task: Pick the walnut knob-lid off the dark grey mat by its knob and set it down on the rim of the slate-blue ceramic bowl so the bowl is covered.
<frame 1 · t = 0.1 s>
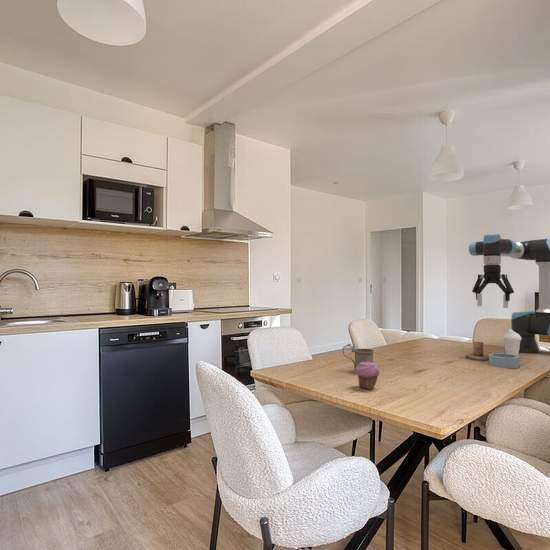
hand: (492, 307, 195), 28 cm above the table, fingers open, 13 cm apart
cupcake: (367, 388, 148), on the table
lid: (478, 358, 203), resting on mat
soft serve ice cream cone: (512, 359, 204), on the table
bowl: (504, 365, 187), on the table
mat: (478, 359, 203), on the table
mug: (358, 371, 175), on the table
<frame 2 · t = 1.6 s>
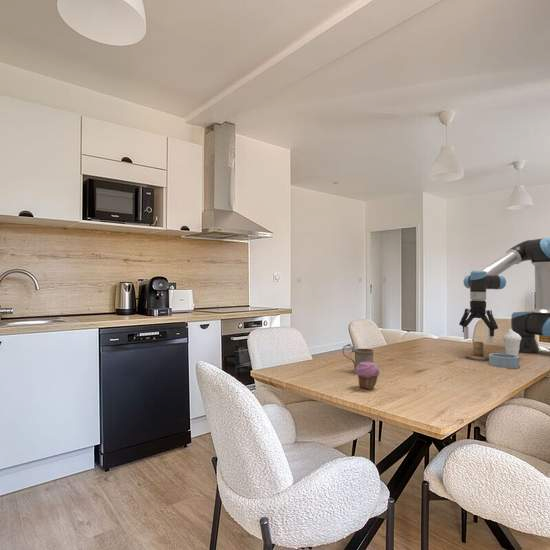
hand: (477, 340, 203), 10 cm above the table, fingers open, 13 cm apart
nothing on the table moved.
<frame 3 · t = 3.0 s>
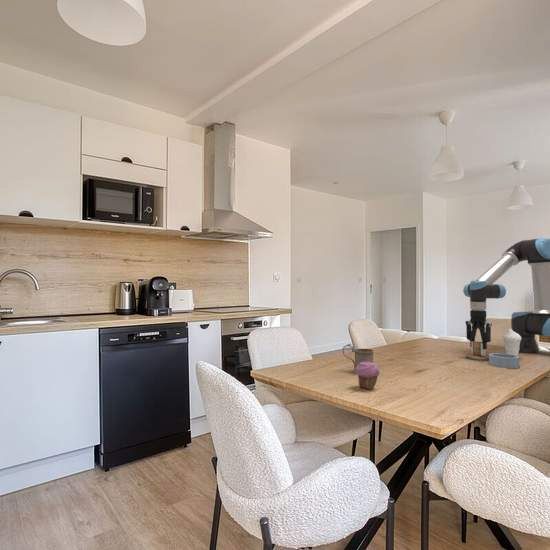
hand: (478, 354, 203), 2 cm above the table, fingers closed on lid, 5 cm apart
lid: (478, 358, 203), resting on mat, touching gripper
everything else where it was.
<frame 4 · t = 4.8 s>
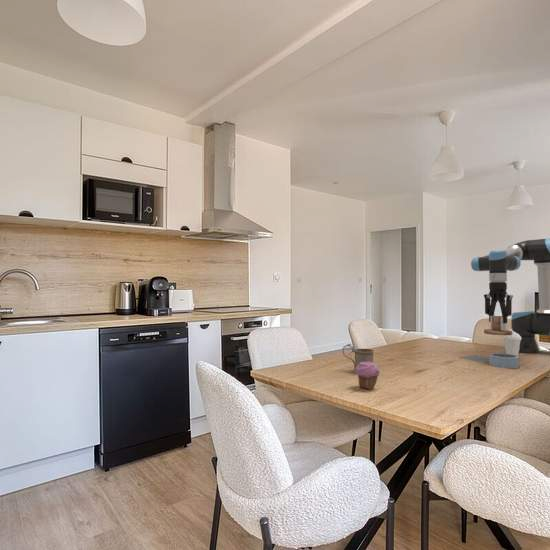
hand: (498, 329, 190), 17 cm above the table, fingers closed on lid, 5 cm apart
lid: (497, 333, 190), point 15 cm above the table, touching gripper
everything else where it was.
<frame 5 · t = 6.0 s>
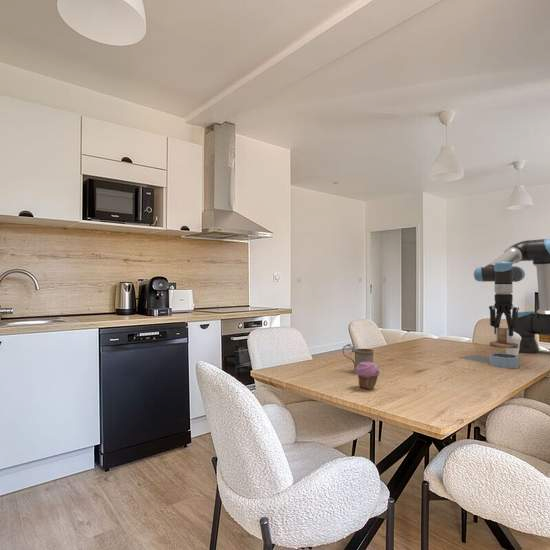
hand: (503, 341, 187), 12 cm above the table, fingers closed on lid, 5 cm apart
lid: (503, 346, 187), point 9 cm above the table, touching gripper
everything else where it was.
when the fingers open (8 cm above the table, at t = 6.9 s): lid stays where it is, resting on bowl.
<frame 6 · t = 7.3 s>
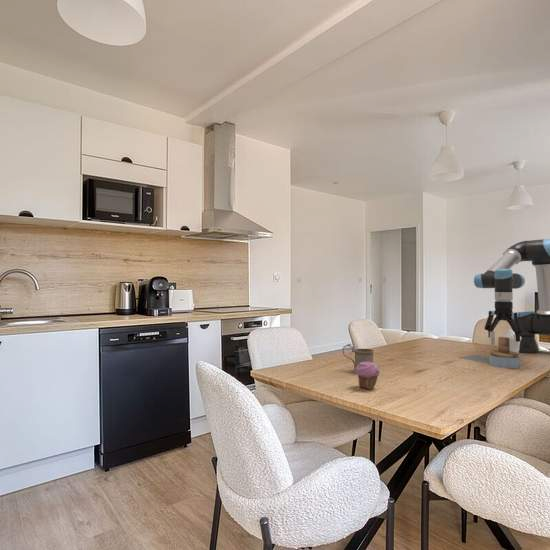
hand: (503, 346, 187), 9 cm above the table, fingers open, 11 cm apart
lid: (504, 355, 187), point 5 cm above the table, touching bowl
everything else where it was.
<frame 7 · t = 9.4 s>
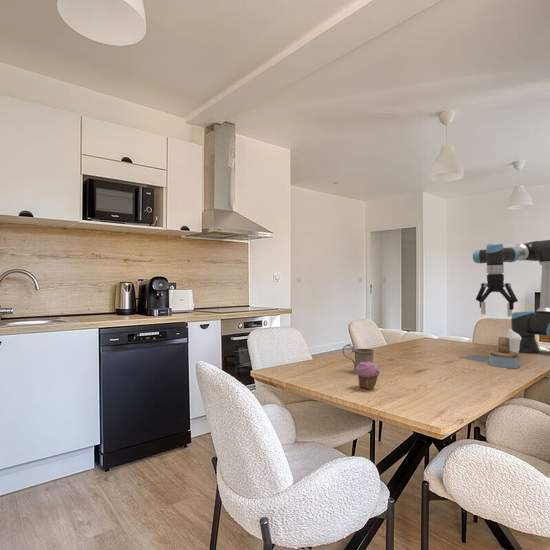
hand: (496, 315, 198), 23 cm above the table, fingers open, 13 cm apart
nothing on the table moved.
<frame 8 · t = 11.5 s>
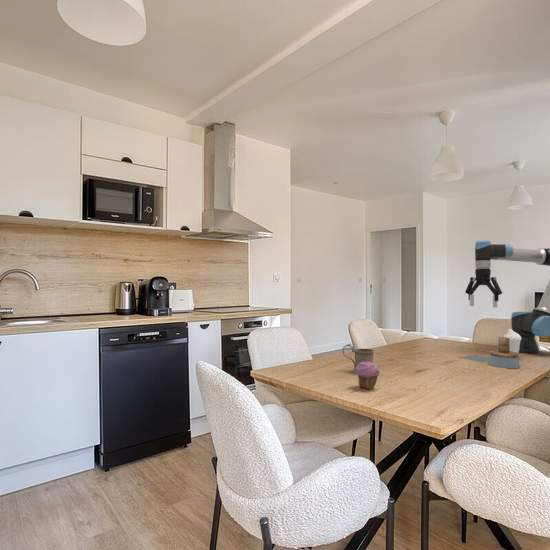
hand: (483, 306, 215), 27 cm above the table, fingers open, 13 cm apart
nothing on the table moved.
at the end: lid 0.0 cm off-centre on the bowl, point 5.0 cm above the bowl's base; lid tilted 0°; the gripper is holding nothing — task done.
